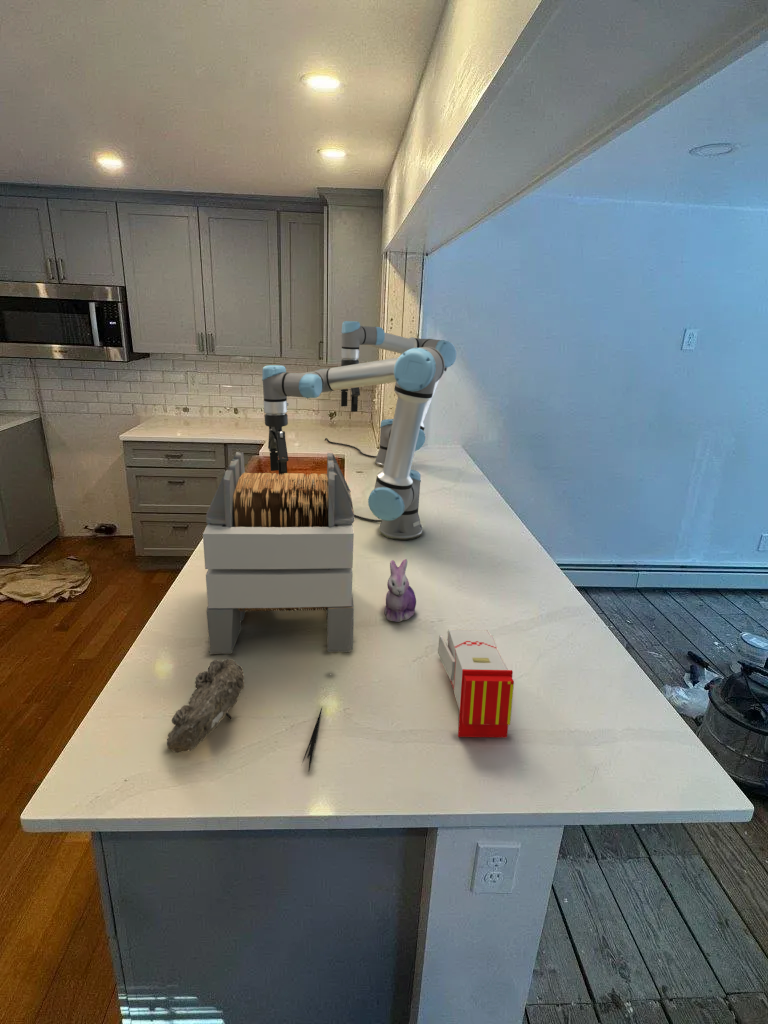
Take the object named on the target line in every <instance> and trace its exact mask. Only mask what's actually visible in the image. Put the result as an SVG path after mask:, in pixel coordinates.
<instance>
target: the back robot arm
mask: <svg viewBox="0 0 768 1024" xmlns="http://www.w3.org/2000/svg"><path fill="white" fill-rule="evenodd" d="M341 324H342V325H341V332H340V333H341V349H340V350H341V351H340V358H341V360H340V362H341V363H340V364H341V366H347V365H353V364H360V360H359V359H360V354H361V351H360V346H366V347H367V346H368V347H372V348H375V349H380V350H385V351H388V352H393V353H397V354H400V355H401V354H403V353H404V352H405V351H407V350H409V349H412V348H420V347H432V348H434V349H436V350H438V351H439V352H440V353H441V355H442V356H443V358H444V362H445V369H444V373H443V375H445V374H446V373H447V370H448V368H450V367H452V366H453V365H454V364H455V362H456V360H457V349H456V346H455V345H454V343H452V342H451V341H449V340H445V339H434V338H418V337H413V336H411V337H409V338H408V337H404V336H401V335H396V334H392V333H389V332H385V330H384V329H383V328H382V327H381V326H369V325H368V326H367V325H361V322H360V321H356V320H355V321H353V320H343V322H342V323H341ZM341 366H340V367H341ZM440 379H441V378H440ZM440 379H439V380H438V381H437V382H435V386H434V391H433V395H432V399H430V400H429V401H427V402H426V403H425V408H424V412H423V417H422V421H421V426H420V430H419V435H418V439H417V444H416V448H415V452H417V451H419V450H420V449H421V448H423V446H424V445H425V442H426V433H425V432H424V431H425V428H426V427H425V424H424V422H425V419H426V416H427V414H428V411H429V409H430V406H431V403H432V400H433V398H434V396H435V393H436V390H437V387H438V386H439V383H440ZM350 391H351V394H350V412H351V413H355V412H358V410H359V409H358V405H359V396H361V391H360V387H356V388H350ZM348 393H349V389H342V390H340V407H348ZM393 419H394V418H386V419H382V420H381V421H380V427H379V428H380V429H379V450H378V451H377V455H371V454H367V453H364V452H362V451H361V449H360V448H358V447H357V446H353V445H351V444H347V443H342V442H335V441H331V440H329V438H327V437H325V438H324V441H326V442H327V443H329V444H334V445H339V446H345V447H348V448H349V447H350V448H353V449H355V450H356V451H358V452H359V454H360V455H362V456H365V457H369V458H375V461H374V463H375V465H376V466H378V467H381V468H384V463H385V458H386V453H387V448H388V443H389V438H390V433H391V428H392V423H393Z"/></svg>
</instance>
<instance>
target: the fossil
mask: <svg viewBox="0 0 768 1024" xmlns="http://www.w3.org/2000/svg"><path fill="white" fill-rule="evenodd" d="M243 670H244V669H243V667H242V665H240V664H237V662H236V661H235V660H234V659H232V658H231V659H227V658H226V659H224V660H223V661H222V660H217V659H212V660H211V661H210V663H209V665H208V666H207V671H201V672H199V673H198V674H197V675H196V676H195V680H194V684H195V685H194V687H195V689H194V690H193V693H192V694H191V697H190V698H189V700H188V704H184V705H182V706H181V707H180V709H177V710H176V711H175V713H174V715H173V716H172V718H171V723H172V724H173V727H172V730H171V731H170V732H168V734H167V738H166V741H167V742H166V745H167V749H168V750H169V751H173V752H174V753H176V754H178V753H182V752H188V751H189V752H192V751H193V750H195V748H196V747H197V746H199V744H200V743H201V742H203V741H204V740H205V739H206V738H207V737H208V736H209V735H210V734H211V733H212V732H214V730H215V729H217V727H218V726H219V724H220V722H221V721H222V720H223V719H224V718H225V716H226V717H227V719H229V720H233V717H232V715H230V714H229V710H230V709H231V708H234V706H235V704H236V703H237V702H238V699H239V697H240V695H241V693H242V691H243V690H245V689H244V688H245V675H244V671H243Z"/></svg>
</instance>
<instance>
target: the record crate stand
mask: <svg viewBox="0 0 768 1024" xmlns="http://www.w3.org/2000/svg"><path fill="white" fill-rule="evenodd" d="M244 455H245V454H244V451H242V452H241V451H236V452H235V454H234V456H233V458H232V459H230V463H229V465H228V467H227V469H226V470H224V473H223V475H222V478H221V479H220V482H219V484H218V487H217V489H216V491H215V494H214V495H213V497H212V500H211V502H210V505H209V507H208V509H207V511H206V515H205V523H206V524H207V525H206V527H205V529H204V531H203V533H202V543H203V558H204V569H205V570H206V573H205V584H206V587H205V588H206V598H207V599H206V601H207V607H206V623H207V634H208V641H209V642H208V643H209V650H208V653H209V655H216V654H217V655H218V654H221V655H222V654H223V655H226V654H227V655H228V654H230V655H231V654H232V653H233V650H234V648H235V647H236V643H237V641H238V638H239V636H240V634H241V630H242V626H241V625H242V623H241V622H243V621H244V618H245V615H246V612H272V611H273V612H279V611H280V612H284V611H286V612H288V611H289V612H291V611H292V612H293V611H294V612H295V611H303V612H304V611H322V610H323V611H326V636H327V637H326V641H327V645H326V646H327V652H329V653H330V652H332V653H333V652H343V653H349V652H351V651H352V650H354V617H355V616H354V614H355V607H354V598H353V575H354V573H353V566H354V563H353V562H354V537H355V536H354V535H355V532H354V527H353V524H354V522H355V517H354V515H355V511H354V506H353V505H354V504H353V500H352V495H351V489H350V487H349V485H348V483H347V480H346V479H345V476H344V474H343V472H342V470H341V467H340V465H339V463H338V461H337V459H336V457H335V455H334V453H333V452H327V453H326V456H327V457H326V468H327V469H326V473H320V474H318V473H307V474H306V473H303V472H302V473H299V472H298V473H297V472H294V473H293V472H292V473H291V472H290V473H288V472H287V473H284V475H283V474H282V475H281V474H280V475H279V473H276V472H273V473H271V472H263V473H262V472H259V473H258V472H253V473H252V472H245V468H246V467H245V456H244Z"/></svg>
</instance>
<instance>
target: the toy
mask: <svg viewBox="0 0 768 1024" xmlns="http://www.w3.org/2000/svg"><path fill="white" fill-rule="evenodd" d="M446 640H447V643H446V641H445V639H444V636H443V635H442V634H439V637H438V646H437V656H438V657H439V659H440V661H441V663H442V666H443V668H444V670H445V672H446V674H447V677H448V679H449V681H450V684H451V687H452V690H453V693H454V697H455V701H456V705H457V708H458V711H459V714H458V715H459V716H458V730H457V731H458V732H457V737H458V738H508V731H509V726H510V725H511V717H512V707H513V697H514V696H513V695H514V684H515V680H514V679H513V673H514V671H513V670H512V669H508V667H507V665H506V662H505V661H504V659H503V658H502V655H501V653H500V651H499V649H498V647H497V643H496V639H495V637H494V635H493V634H491V632H490V631H489V629H467V628H466V629H465V628H463V629H461V628H460V629H459V628H448V630H447V639H446Z"/></svg>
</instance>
